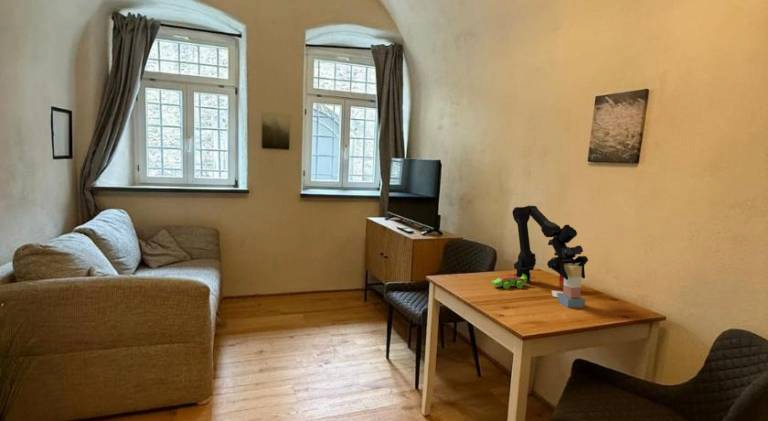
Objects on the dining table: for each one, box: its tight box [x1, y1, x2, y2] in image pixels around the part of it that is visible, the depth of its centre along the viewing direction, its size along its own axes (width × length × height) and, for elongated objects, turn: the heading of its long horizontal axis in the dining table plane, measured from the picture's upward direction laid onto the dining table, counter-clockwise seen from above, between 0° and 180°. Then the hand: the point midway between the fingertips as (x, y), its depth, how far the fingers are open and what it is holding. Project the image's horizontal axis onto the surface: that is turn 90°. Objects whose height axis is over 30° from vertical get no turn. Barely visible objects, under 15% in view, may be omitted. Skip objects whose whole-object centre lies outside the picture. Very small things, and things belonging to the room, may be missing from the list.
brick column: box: [562, 264, 582, 298], centre depth 187 cm, size 5×5×14 cm
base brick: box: [557, 293, 586, 309], centre depth 188 cm, size 8×8×4 cm
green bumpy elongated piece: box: [490, 274, 528, 290], centre depth 209 cm, size 20×7×6 cm, turn 106°
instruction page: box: [551, 290, 563, 298], centre depth 200 cm, size 12×9×1 cm
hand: (575, 278), depth 185 cm, fingers open, 9 cm apart
